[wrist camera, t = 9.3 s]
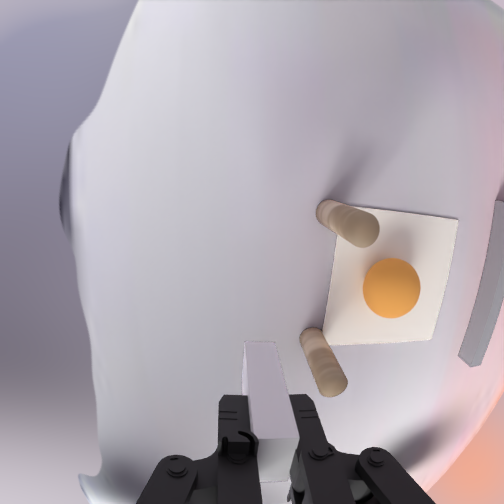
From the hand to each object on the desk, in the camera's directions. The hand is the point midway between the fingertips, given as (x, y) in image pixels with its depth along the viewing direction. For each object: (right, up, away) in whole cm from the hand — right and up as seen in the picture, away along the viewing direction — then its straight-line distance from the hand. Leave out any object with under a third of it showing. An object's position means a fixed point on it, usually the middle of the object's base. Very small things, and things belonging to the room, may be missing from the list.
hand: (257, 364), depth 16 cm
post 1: (+6, -3, +15) cm, 17 cm away
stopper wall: (+28, +2, +16) cm, 32 cm away
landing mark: (+14, +3, +15) cm, 20 cm away
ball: (+12, +2, +12) cm, 17 cm away
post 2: (+6, +9, +12) cm, 17 cm away
